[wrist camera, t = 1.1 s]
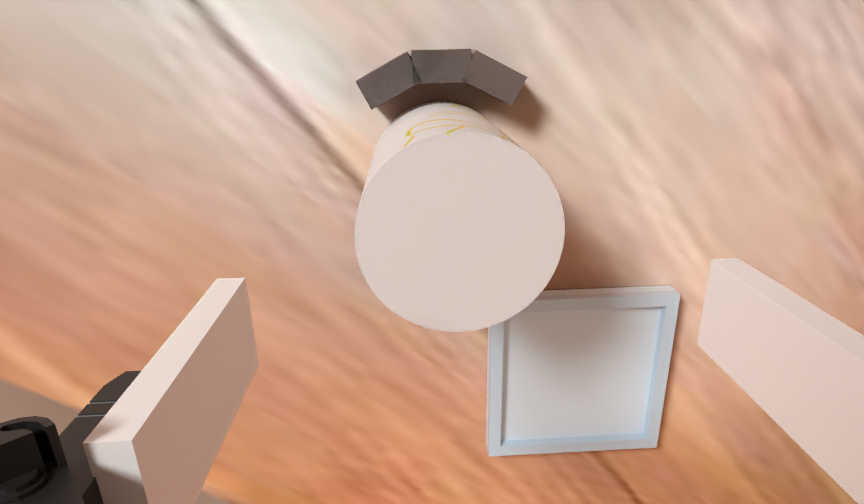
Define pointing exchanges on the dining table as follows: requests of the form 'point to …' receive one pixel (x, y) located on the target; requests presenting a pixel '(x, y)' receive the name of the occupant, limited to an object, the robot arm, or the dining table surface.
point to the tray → (580, 371)
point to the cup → (456, 220)
